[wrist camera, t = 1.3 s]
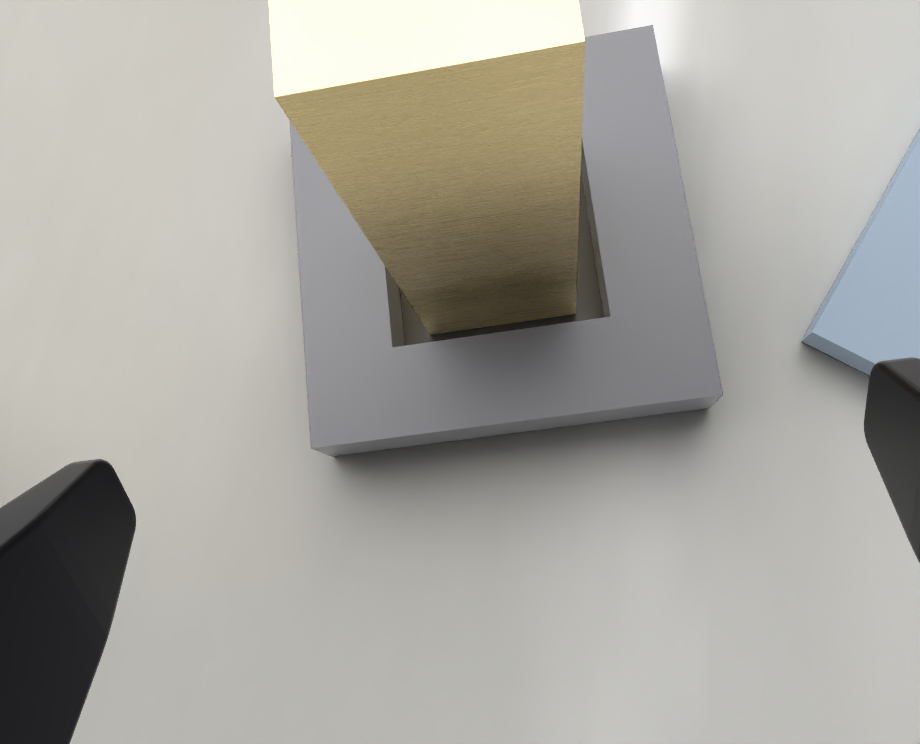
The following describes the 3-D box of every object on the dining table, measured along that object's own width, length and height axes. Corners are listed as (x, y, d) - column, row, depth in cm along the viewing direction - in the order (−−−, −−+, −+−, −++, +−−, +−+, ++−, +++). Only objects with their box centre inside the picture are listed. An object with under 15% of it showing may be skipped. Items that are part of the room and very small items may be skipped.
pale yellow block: (575, 314, 23) (584, 41, 11) (430, 334, 24) (274, 97, 11) (555, 178, 24) (541, -217, 12) (416, 201, 25) (259, -156, 12)
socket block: (709, 407, 22) (722, 394, 20) (332, 456, 23) (310, 448, 21) (646, 65, 25) (652, 24, 23) (308, 125, 26) (287, 91, 24)
